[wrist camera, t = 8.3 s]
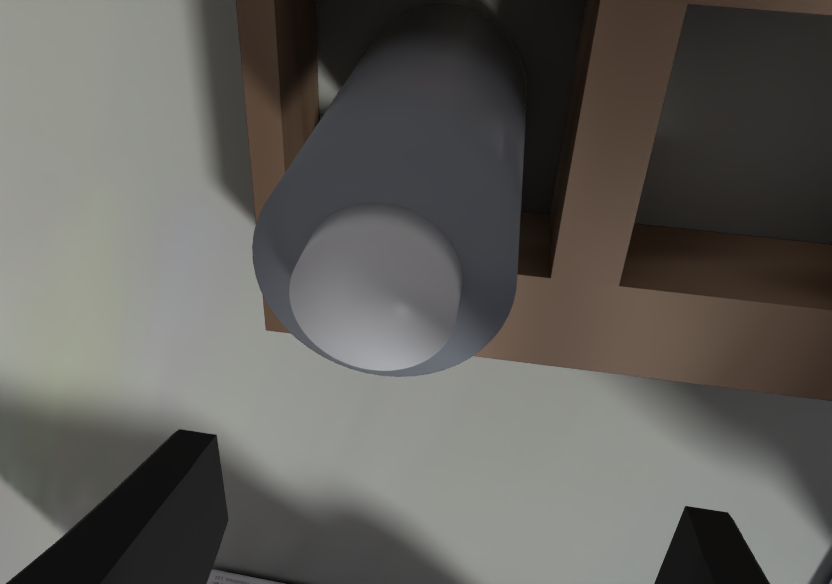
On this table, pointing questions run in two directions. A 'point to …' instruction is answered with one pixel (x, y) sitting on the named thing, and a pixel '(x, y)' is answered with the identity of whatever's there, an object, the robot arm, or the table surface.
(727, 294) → the socket board
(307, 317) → the plug
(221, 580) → the ink cartridge box
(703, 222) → the table surface
